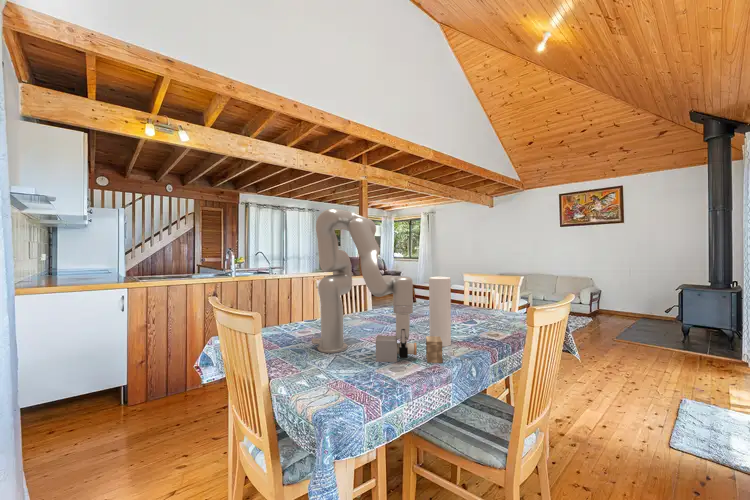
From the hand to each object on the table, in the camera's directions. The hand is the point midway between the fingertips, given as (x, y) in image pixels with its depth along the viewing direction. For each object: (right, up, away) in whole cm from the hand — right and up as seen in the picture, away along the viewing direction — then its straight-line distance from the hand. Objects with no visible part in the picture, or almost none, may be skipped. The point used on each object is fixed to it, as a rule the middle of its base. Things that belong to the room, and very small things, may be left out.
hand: (403, 355), depth 126 cm
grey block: (-6, -2, +1) cm, 7 cm away
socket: (+12, -1, -1) cm, 12 cm away
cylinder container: (+18, -1, +20) cm, 27 cm away
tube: (-2, 0, 0) cm, 3 cm away
